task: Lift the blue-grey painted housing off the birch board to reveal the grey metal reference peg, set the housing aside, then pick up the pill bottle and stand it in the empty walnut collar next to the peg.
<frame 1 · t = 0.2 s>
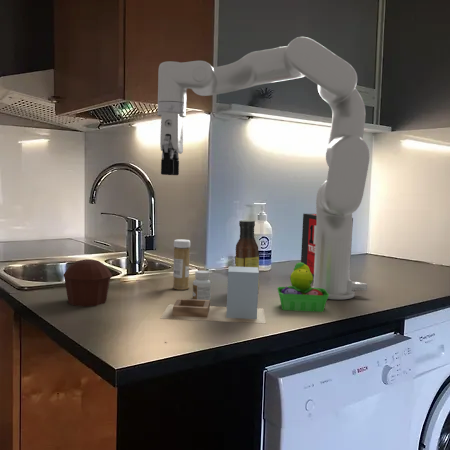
hand: (170, 174, 137), 31 cm above the worktop, fingers open, 9 cm apart
housing: (241, 314, 111), point 1 cm above the worktop, touching layout board
sprinkles bottle: (180, 289, 140), on the worktop
sauce bottle: (246, 296, 134), on the worktop
muffin: (87, 302, 122), on the worktop
layout board: (214, 317, 112), on the worktop
cleaning product box: (323, 278, 163), on the worktop
fruit basket: (301, 312, 120), on the worktop
pill bottle: (201, 303, 125), on the worktop
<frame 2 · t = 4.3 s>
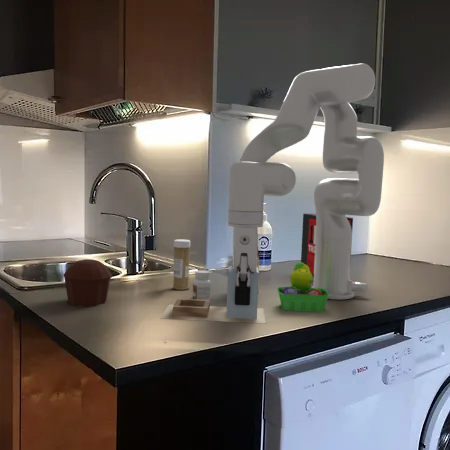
hand: (242, 300, 111), 4 cm above the worktop, fingers closed on housing, 6 cm apart
housing: (241, 314, 111), point 1 cm above the worktop, touching gripper, layout board
everything else where it was.
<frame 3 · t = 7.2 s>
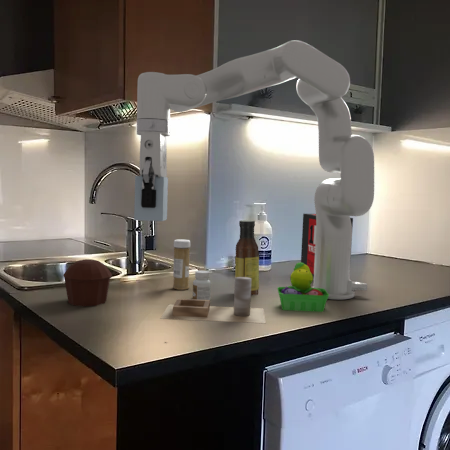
hand: (151, 206, 118), 24 cm above the worktop, fingers closed on housing, 6 cm apart
housing: (150, 219, 118), point 20 cm above the worktop, touching gripper
everything else where it was.
when the fingers open (5 cm above the worktop, at t = 10.6 s): housing drops 2 cm, on the worktop.
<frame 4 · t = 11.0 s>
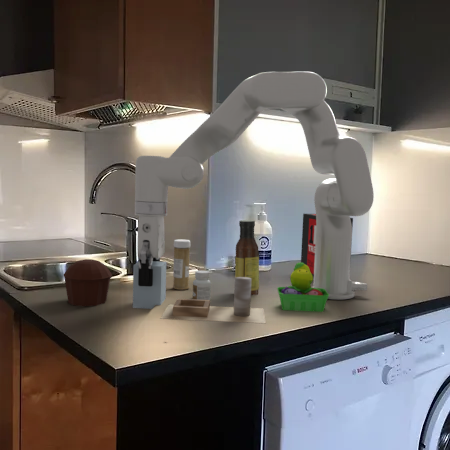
hand: (149, 281, 120), 6 cm above the worktop, fingers open, 9 cm apart
housing: (149, 305, 120), on the worktop
everything else where it was.
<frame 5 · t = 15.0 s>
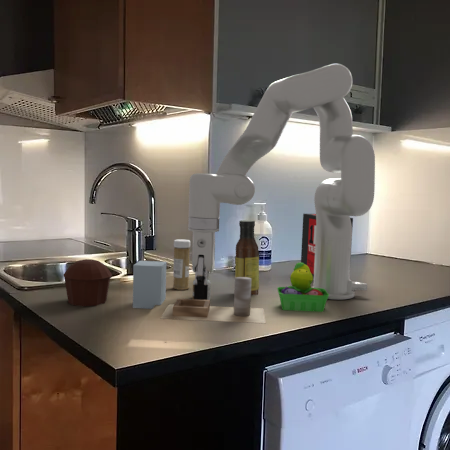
hand: (201, 297, 125), 1 cm above the worktop, fingers closed on pill bottle, 4 cm apart
pill bottle: (201, 303, 125), on the worktop, touching gripper
everything else where it was.
when the fingers open (4 cm above the worktop, at t = 20.0 s): pill bottle drops 1 cm, resting on layout board.
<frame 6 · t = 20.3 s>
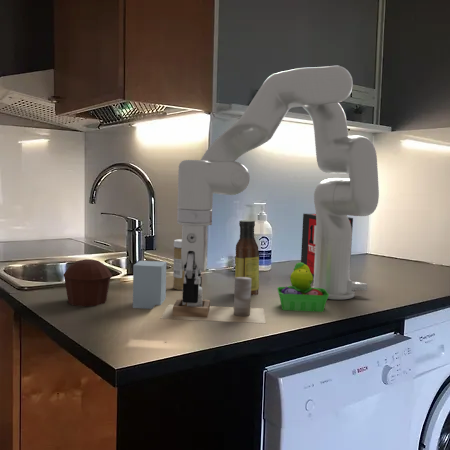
hand: (192, 297, 111), 4 cm above the worktop, fingers open, 7 cm apart
pill bottle: (192, 312, 112), point 1 cm above the worktop, touching layout board
everything else where it was.
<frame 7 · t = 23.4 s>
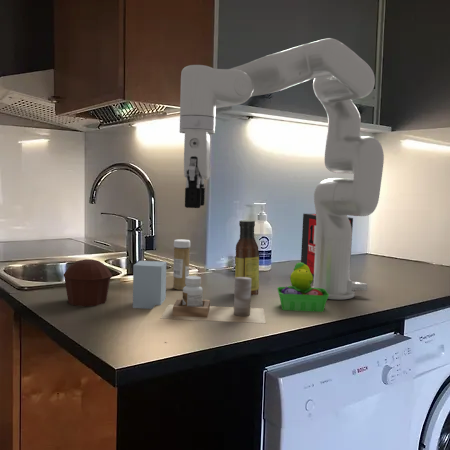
hand: (194, 206, 110), 24 cm above the worktop, fingers open, 9 cm apart
nothing on the worktop moved.
at the end: pill bottle 0.1 cm from the target spot on the layout board, point 0.8 cm above the layout board's base; pill bottle tilted 0°; housing moved 23.5 cm from its start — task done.
